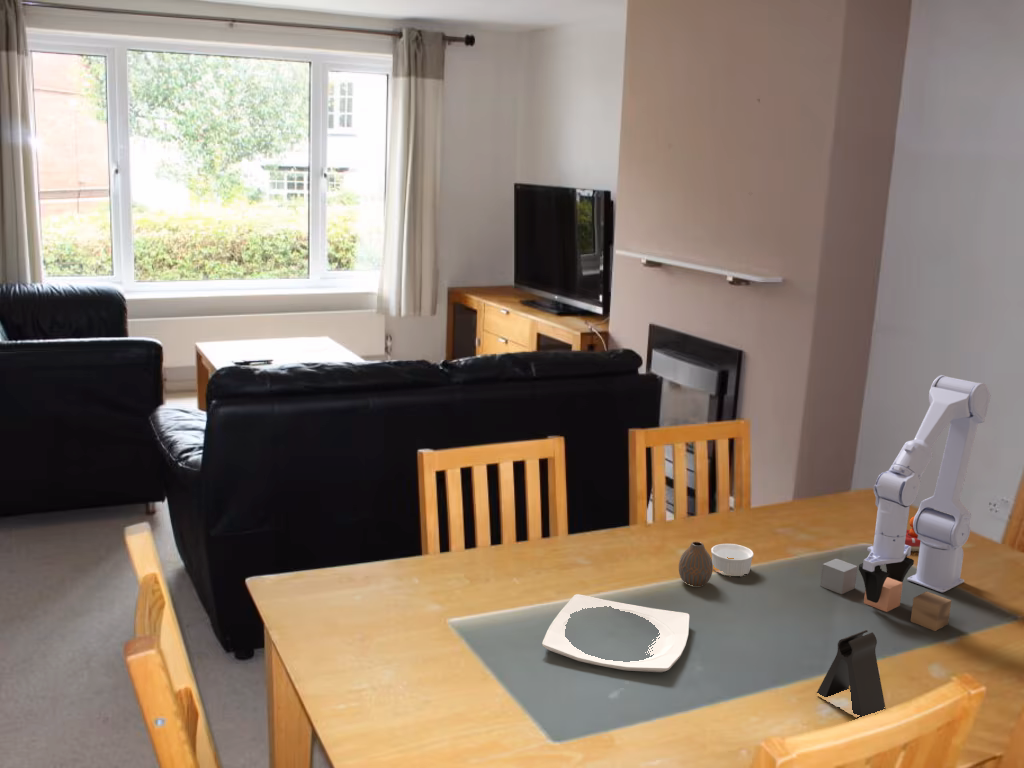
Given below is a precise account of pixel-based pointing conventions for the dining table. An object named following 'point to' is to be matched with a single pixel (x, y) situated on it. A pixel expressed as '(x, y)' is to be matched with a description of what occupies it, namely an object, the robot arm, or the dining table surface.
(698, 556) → the vase
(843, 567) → the slate block
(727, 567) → the ramekin
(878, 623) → the dining table surface
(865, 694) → the phone stand
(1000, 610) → the dining table surface
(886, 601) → the terracotta block
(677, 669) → the dining table surface
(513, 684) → the dining table surface
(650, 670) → the plate
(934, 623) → the walnut block
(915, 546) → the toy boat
